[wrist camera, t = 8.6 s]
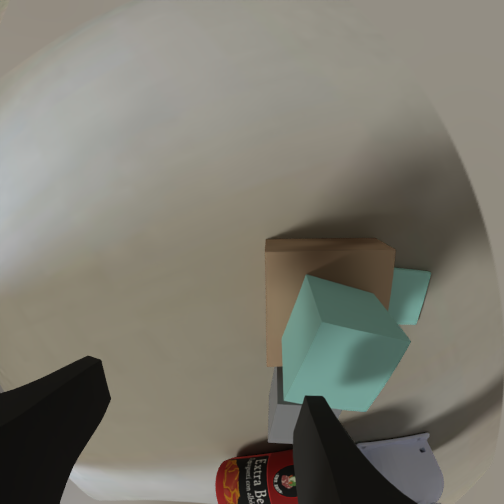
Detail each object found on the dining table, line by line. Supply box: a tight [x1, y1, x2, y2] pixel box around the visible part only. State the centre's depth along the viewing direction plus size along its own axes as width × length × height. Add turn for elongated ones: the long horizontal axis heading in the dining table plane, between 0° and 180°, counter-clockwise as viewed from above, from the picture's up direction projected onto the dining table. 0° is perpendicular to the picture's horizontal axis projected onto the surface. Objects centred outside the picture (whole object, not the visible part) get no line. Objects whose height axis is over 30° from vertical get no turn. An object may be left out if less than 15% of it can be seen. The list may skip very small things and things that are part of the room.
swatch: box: [388, 267, 431, 325], centre depth 17 cm, size 4×4×1 cm
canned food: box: [216, 449, 298, 504], centre depth 18 cm, size 8×8×11 cm
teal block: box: [282, 274, 411, 412], centre depth 12 cm, size 4×4×5 cm
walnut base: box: [265, 238, 396, 367], centre depth 16 cm, size 7×7×4 cm
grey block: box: [268, 366, 342, 444], centre depth 17 cm, size 4×4×5 cm
